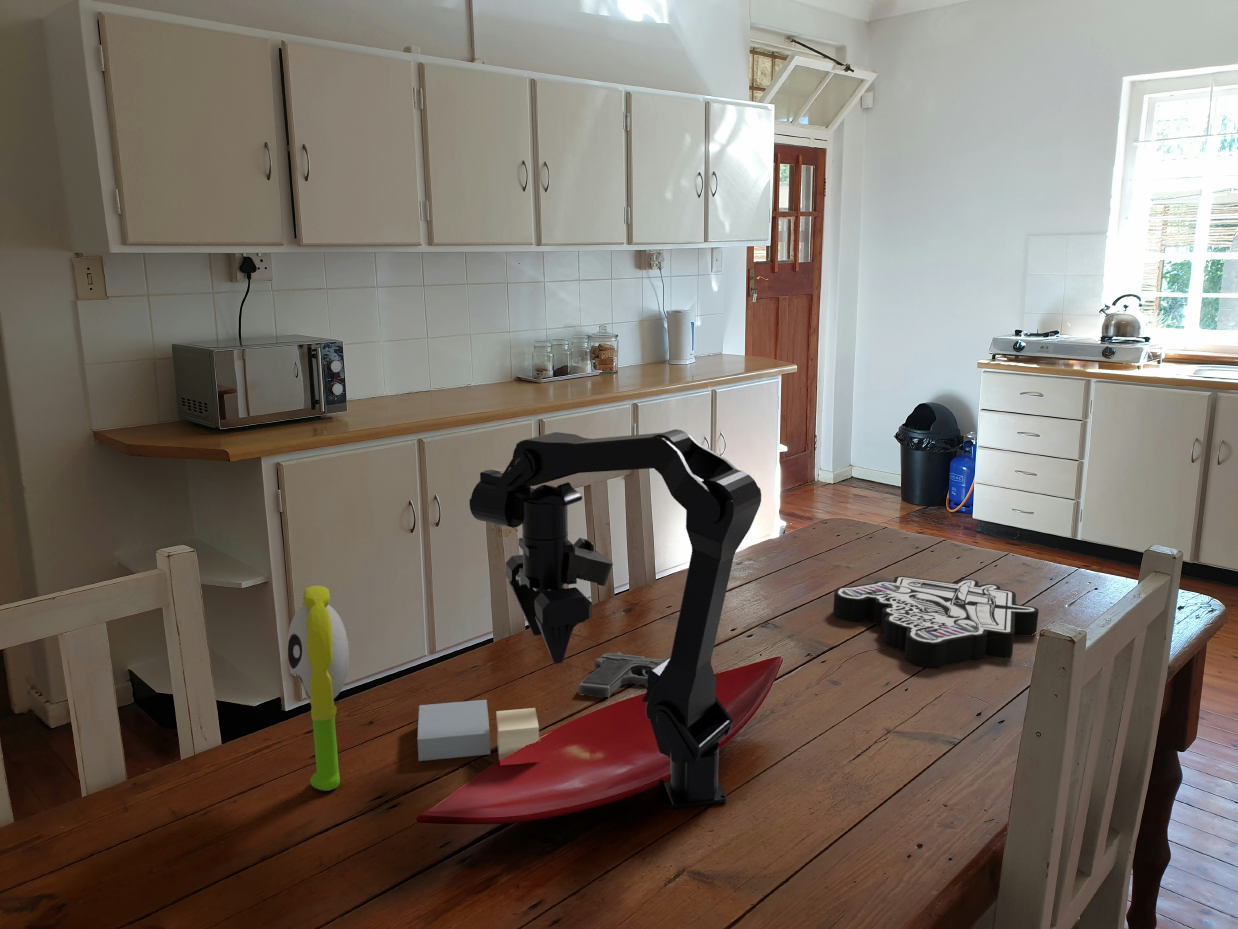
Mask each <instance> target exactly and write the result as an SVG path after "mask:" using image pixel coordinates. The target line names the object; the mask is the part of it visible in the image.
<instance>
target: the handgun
mask: <svg viewBox="0 0 1238 929" xmlns="http://www.w3.org/2000/svg"><path fill="white" fill-rule="evenodd" d="M667 659H668V658H667ZM667 659H665V658H659V659H658V658H648V657H646V656H643V655H642V656H641V655H631V654H622V652H617V653H609V652H608V653H605V654H602V655H601V656H600V657H599V658H596V659H595V660H594V662H593V669H594V671H593V672H591V673H590V674H588V675H587V676H586V677H585V678H584V679H583V680H582V681H581V682H580V683H579V685H578V688H577V689H578V695H579V694H584V695H591V696H590V697H593V696H598V697H597V698H603V697H608V698H607V699H610V697H611V695H613V694H614V693H615V692H616V691H617V690H618V689H619V688H621V687H622V686H623V685H626V684H636V685H637V684H638V685H647V680H648V675H649V672H650V670H652V669H653V668H655V667H656V666H658V665H659V664H661V663H662V662H664V661H665V660H667ZM595 669H597V670H595ZM637 675H640V676H637ZM641 675H643V676H641ZM621 685H622V686H621ZM613 692H614V693H613ZM612 693H613V694H612ZM584 695H583V696H584Z"/></svg>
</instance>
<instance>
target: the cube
mask: <svg viewBox="0 0 1238 929" xmlns="http://www.w3.org/2000/svg"><path fill="white" fill-rule="evenodd" d="M495 714H496V716H495V717H496V736H497V737H496V740H497V741H496V743H497V744H496V745H497V752H498V753H497V754H498V761H499V760H501V759H503V758H504V757H506V756H508V755H510V754H511V753H513V752H515V751H517V750H518V749H521V748H523V747H525V746H526V745H529V744H532V743H534V742H536V741H538V740H539V741H540V726H539V720H538V715H537V711H536V707H531V708H529V707H528V708H520V709H517V708H516V709H509V710H497V711H495Z"/></svg>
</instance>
